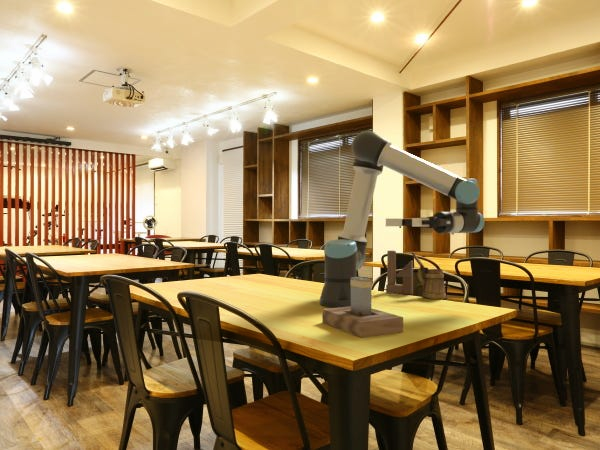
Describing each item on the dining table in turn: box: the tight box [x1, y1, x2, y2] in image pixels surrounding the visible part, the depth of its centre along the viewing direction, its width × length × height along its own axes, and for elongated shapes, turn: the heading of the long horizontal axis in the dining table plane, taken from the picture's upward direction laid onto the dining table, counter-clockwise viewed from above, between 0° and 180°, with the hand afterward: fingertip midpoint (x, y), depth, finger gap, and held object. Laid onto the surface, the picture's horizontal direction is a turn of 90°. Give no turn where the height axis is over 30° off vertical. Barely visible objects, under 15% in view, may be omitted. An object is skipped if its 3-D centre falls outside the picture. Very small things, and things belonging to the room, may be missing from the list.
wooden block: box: [385, 250, 414, 296], centre depth 194 cm, size 4×11×18 cm, turn 66°
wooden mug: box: [411, 252, 447, 300], centre depth 184 cm, size 9×14×18 cm, turn 71°
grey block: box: [350, 276, 373, 317], centre depth 131 cm, size 6×3×14 cm, turn 27°
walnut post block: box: [321, 306, 404, 338], centre depth 131 cm, size 20×14×4 cm
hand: (398, 222), depth 152 cm, fingers open, 13 cm apart
